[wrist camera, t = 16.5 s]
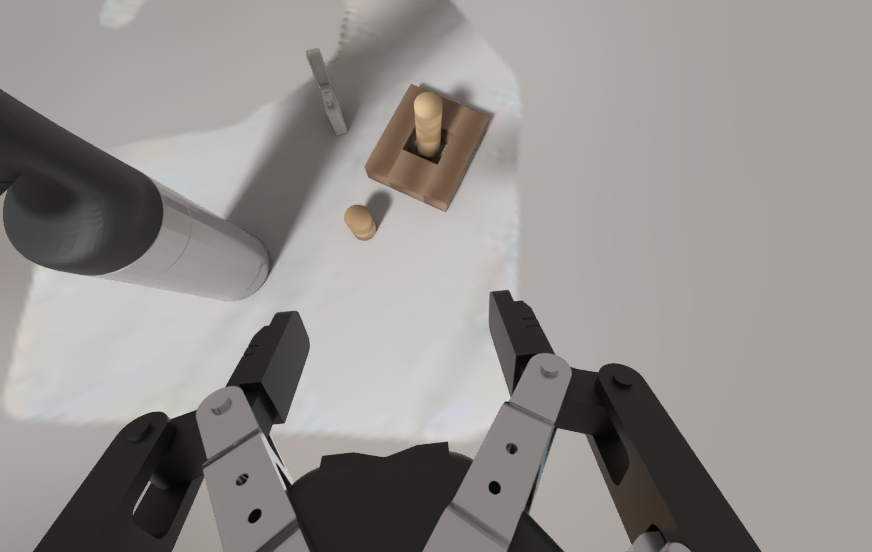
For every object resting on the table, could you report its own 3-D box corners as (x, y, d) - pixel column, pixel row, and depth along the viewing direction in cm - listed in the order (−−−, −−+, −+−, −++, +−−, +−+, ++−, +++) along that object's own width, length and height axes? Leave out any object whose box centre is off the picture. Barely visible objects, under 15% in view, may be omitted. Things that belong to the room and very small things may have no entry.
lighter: (348, 132, 46) (331, 91, 39) (336, 135, 46) (317, 94, 38) (335, 91, 48) (317, 43, 40) (324, 94, 48) (303, 46, 40)
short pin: (348, 234, 44) (339, 222, 39) (359, 214, 44) (351, 200, 40) (369, 244, 43) (362, 233, 39) (380, 223, 44) (374, 211, 39)
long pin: (413, 158, 46) (409, 110, 36) (423, 140, 46) (421, 87, 37) (433, 167, 46) (434, 121, 36) (443, 149, 46) (446, 98, 36)
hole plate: (368, 177, 45) (364, 166, 42) (412, 99, 48) (410, 83, 45) (445, 212, 44) (446, 203, 41) (485, 130, 47) (489, 117, 44)
